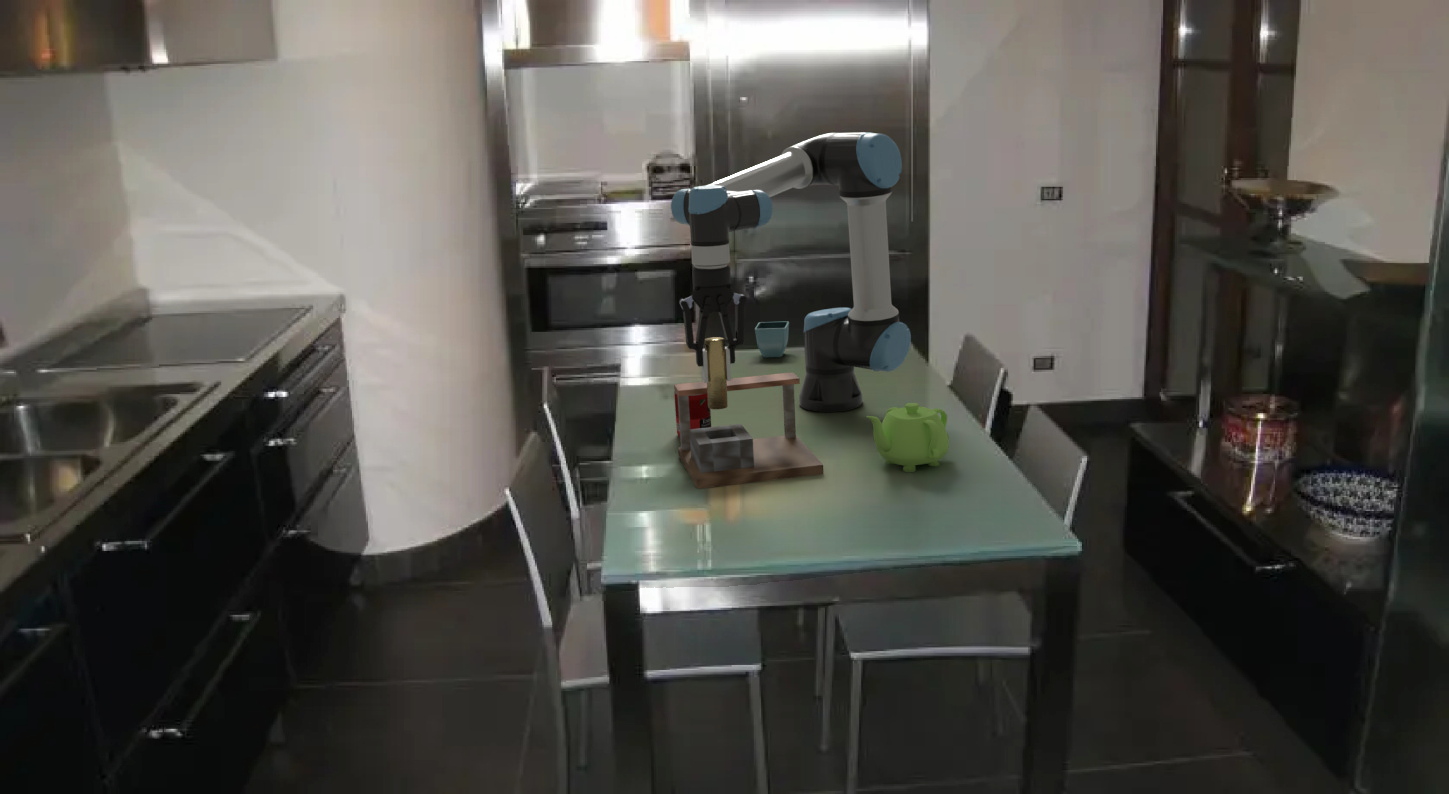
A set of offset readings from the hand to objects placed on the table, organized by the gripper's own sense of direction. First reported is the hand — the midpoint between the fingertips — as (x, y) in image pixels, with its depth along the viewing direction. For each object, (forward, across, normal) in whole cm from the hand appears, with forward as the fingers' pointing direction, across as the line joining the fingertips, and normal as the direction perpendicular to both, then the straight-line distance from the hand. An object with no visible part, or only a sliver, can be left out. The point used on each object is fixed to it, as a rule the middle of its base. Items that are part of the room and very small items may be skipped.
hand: (716, 380), depth 248 cm
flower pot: (+19, -34, -94) cm, 102 cm away
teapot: (+19, -37, +9) cm, 43 cm away
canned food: (+20, +1, -27) cm, 34 cm away
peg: (+6, 0, 0) cm, 6 cm away
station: (+19, -6, -2) cm, 21 cm away
